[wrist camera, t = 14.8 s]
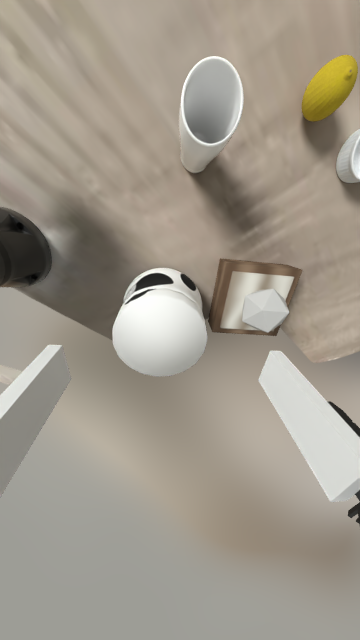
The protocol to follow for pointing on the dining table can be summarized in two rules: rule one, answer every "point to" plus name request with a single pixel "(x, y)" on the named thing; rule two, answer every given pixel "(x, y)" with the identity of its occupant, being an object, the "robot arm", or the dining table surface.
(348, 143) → the ramekin
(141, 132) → the dining table surface
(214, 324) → the plinth
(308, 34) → the dining table surface
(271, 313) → the die
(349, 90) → the lemon
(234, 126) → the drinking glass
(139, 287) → the milk container
